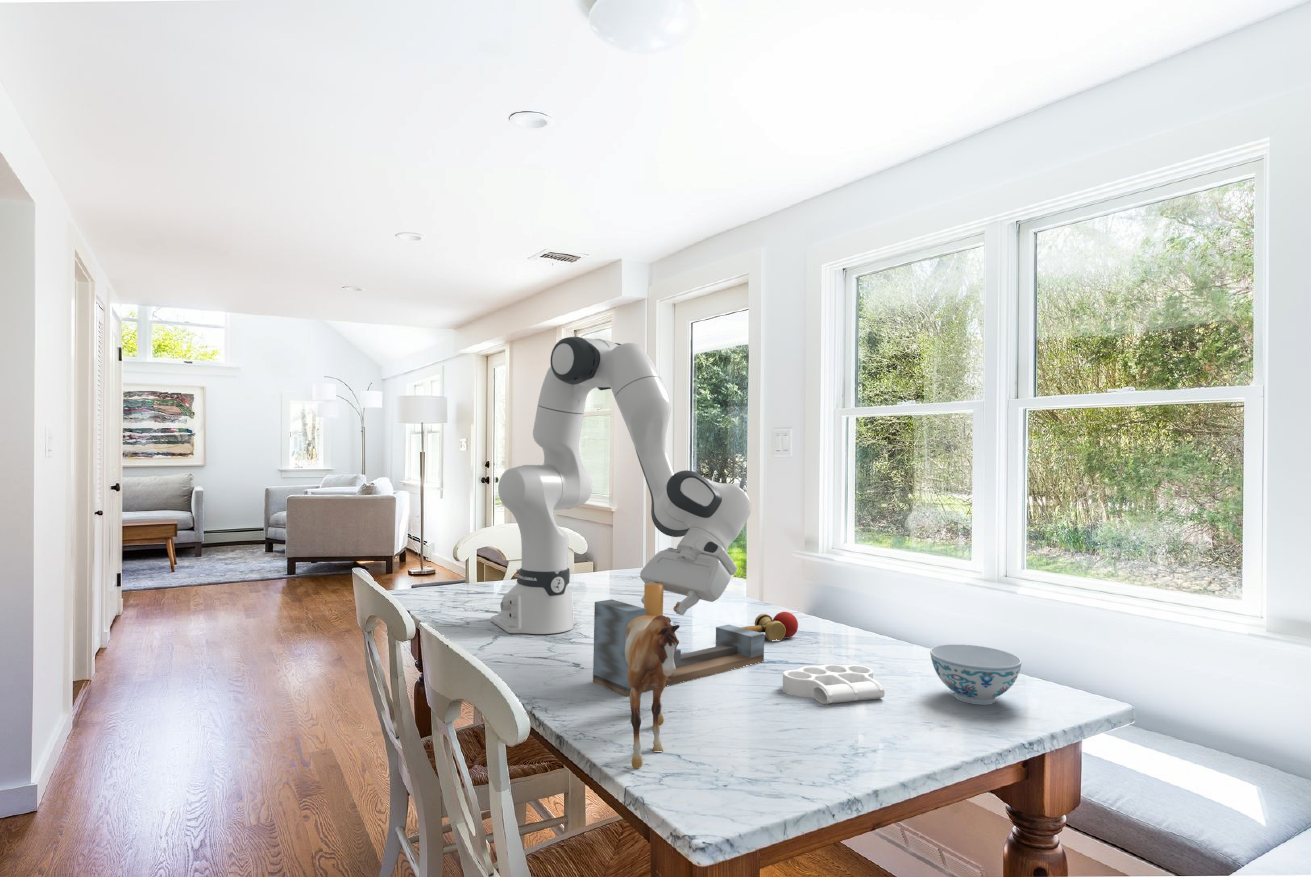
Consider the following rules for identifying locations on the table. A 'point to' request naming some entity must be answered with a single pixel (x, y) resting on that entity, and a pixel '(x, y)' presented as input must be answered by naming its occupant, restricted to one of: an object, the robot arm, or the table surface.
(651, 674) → the horse figurine
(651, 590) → the carriage
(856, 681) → the white brass knuckles
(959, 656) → the chinaware
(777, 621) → the kendama
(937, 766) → the table surface
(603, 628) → the walnut rail
